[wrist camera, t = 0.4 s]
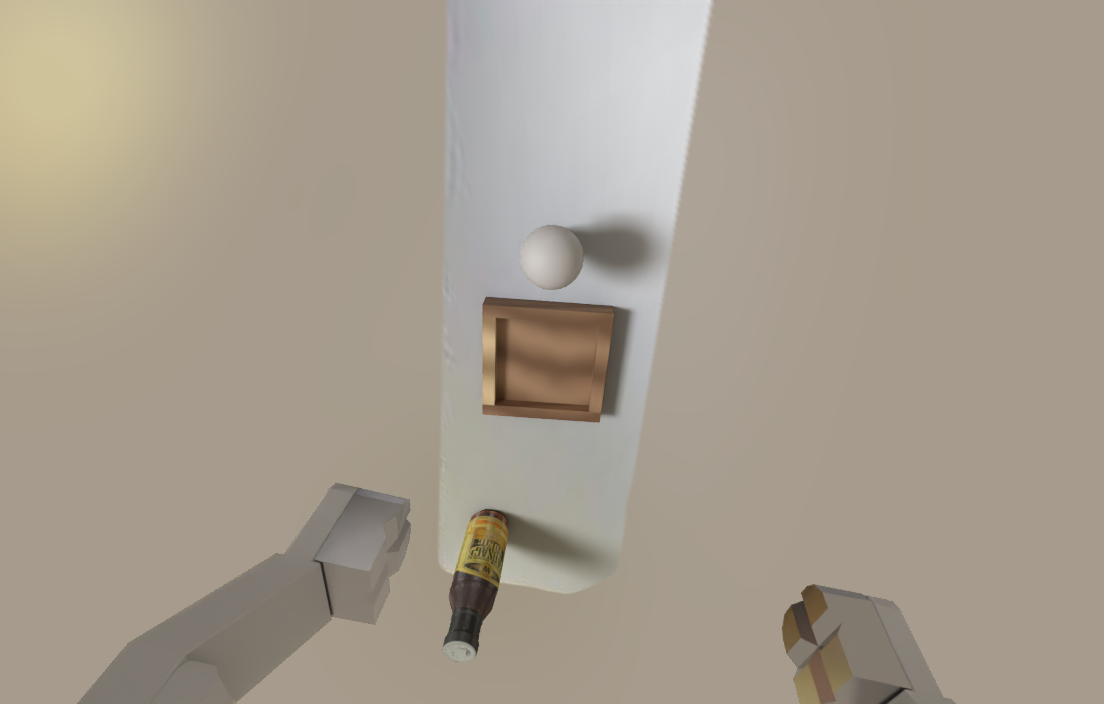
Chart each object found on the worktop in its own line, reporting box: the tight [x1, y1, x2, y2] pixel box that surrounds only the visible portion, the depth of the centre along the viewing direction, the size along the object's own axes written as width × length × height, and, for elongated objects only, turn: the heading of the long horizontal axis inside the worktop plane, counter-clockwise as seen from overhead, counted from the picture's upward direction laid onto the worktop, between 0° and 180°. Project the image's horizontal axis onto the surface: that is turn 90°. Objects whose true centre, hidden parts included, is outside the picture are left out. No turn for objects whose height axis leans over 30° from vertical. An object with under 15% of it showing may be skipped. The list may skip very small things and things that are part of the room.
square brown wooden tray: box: [483, 297, 614, 422], centre depth 58 cm, size 15×15×2 cm
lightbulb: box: [520, 225, 584, 290], centre depth 48 cm, size 6×6×11 cm
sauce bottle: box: [443, 510, 508, 662], centre depth 63 cm, size 7×6×20 cm
